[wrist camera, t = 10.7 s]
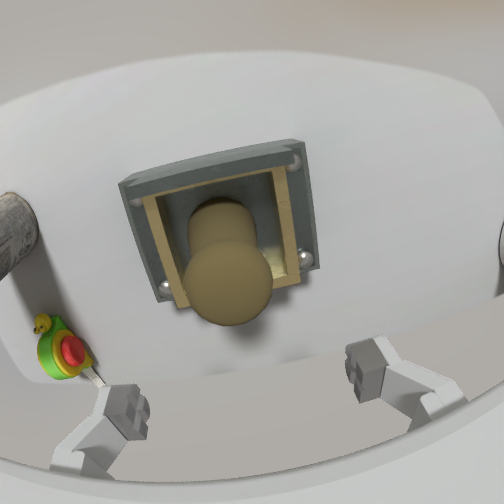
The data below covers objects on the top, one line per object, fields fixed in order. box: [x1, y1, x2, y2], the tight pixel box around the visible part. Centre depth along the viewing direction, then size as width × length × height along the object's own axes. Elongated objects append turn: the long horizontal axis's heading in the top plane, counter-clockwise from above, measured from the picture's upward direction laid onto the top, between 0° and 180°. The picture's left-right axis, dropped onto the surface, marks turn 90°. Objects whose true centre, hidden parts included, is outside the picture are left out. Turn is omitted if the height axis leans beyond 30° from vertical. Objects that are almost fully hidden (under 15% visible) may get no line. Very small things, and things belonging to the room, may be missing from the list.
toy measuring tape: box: [34, 313, 105, 389], centre depth 34 cm, size 6×19×7 cm, turn 16°
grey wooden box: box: [118, 139, 320, 309], centre depth 27 cm, size 16×12×9 cm
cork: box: [184, 198, 273, 326], centre depth 21 cm, size 6×6×11 cm
